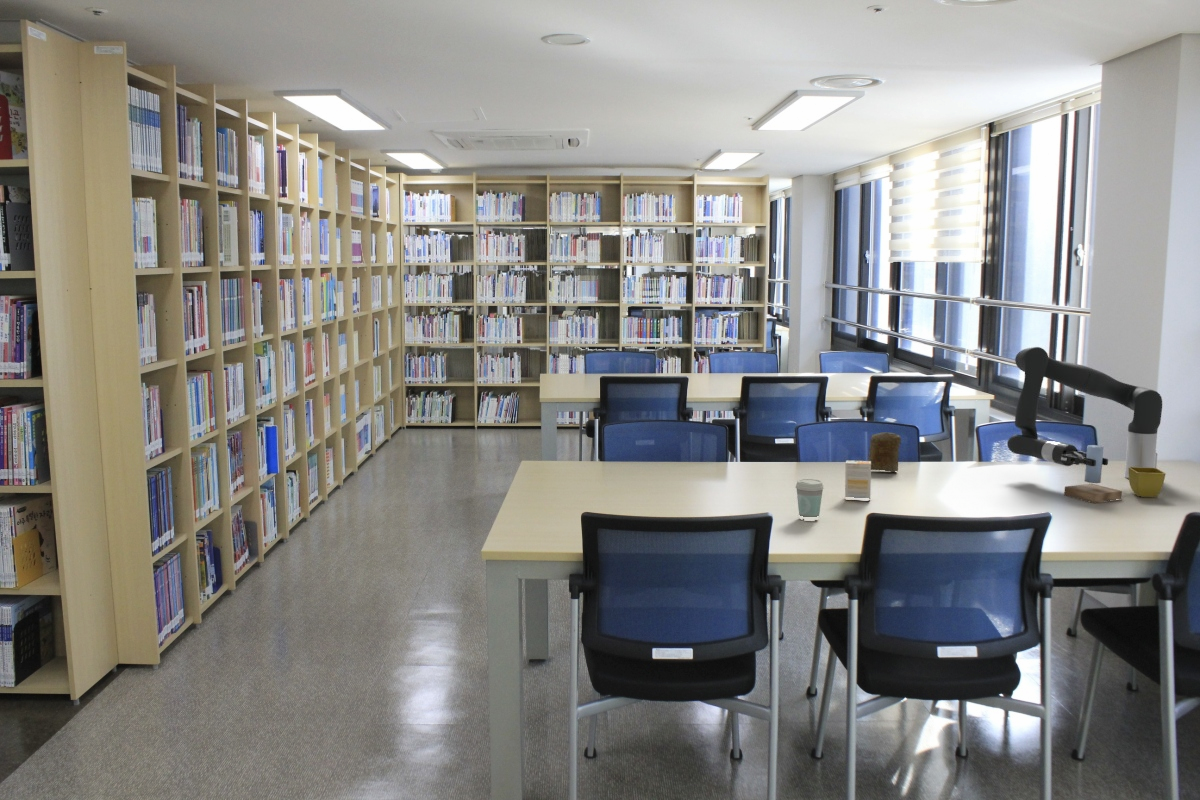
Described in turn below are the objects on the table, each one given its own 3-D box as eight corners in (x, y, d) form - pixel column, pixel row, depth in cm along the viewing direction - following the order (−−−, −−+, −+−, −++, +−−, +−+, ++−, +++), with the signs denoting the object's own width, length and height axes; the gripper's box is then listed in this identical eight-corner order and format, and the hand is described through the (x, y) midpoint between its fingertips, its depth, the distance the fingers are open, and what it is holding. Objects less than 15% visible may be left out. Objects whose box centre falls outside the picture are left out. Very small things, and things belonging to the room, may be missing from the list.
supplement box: (870, 498, 307) (871, 460, 305) (869, 502, 302) (871, 463, 301) (845, 497, 310) (846, 459, 308) (844, 500, 305) (845, 462, 303)
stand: (1090, 492, 313) (1091, 483, 313) (1121, 499, 302) (1121, 491, 301) (1064, 495, 309) (1064, 486, 308) (1094, 503, 298) (1095, 494, 297)
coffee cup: (791, 516, 286) (792, 478, 284) (817, 515, 287) (818, 478, 285) (799, 523, 277) (800, 485, 276) (826, 522, 278) (827, 484, 276)
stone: (865, 472, 348) (866, 433, 346) (872, 467, 356) (873, 430, 354) (895, 475, 342) (896, 436, 340) (901, 470, 350) (902, 432, 348)
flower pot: (1164, 499, 302) (1166, 473, 301) (1135, 498, 304) (1137, 472, 302) (1153, 493, 310) (1155, 467, 309) (1126, 492, 312) (1127, 466, 311)
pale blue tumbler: (1091, 479, 308) (1094, 444, 306) (1104, 482, 303) (1106, 447, 302) (1081, 480, 306) (1083, 445, 304) (1093, 483, 302) (1096, 448, 300)
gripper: (1044, 444, 314) (1085, 453, 298) (1075, 441, 319) (1118, 450, 303) (1042, 465, 315) (1084, 475, 299) (1073, 462, 320) (1116, 472, 304)
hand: (1101, 462), depth 301 cm, fingers closed on pale blue tumbler, 4 cm apart
